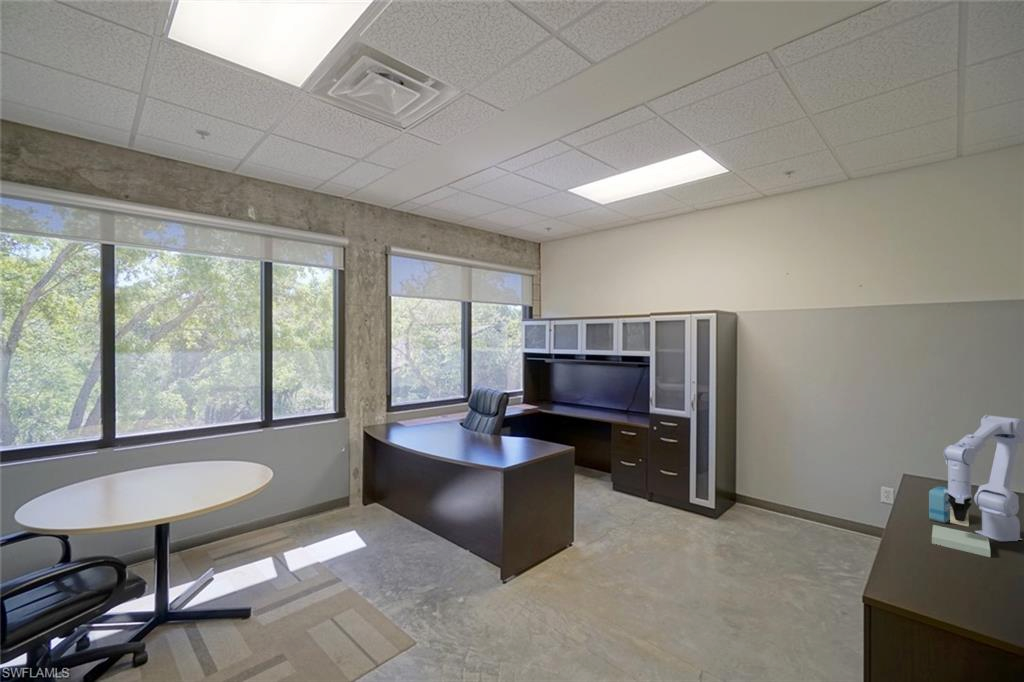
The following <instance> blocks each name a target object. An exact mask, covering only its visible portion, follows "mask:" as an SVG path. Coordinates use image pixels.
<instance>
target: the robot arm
mask: <svg viewBox="0 0 1024 682" xmlns="http://www.w3.org/2000/svg"><path fill="white" fill-rule="evenodd" d="M980 419H981V420H980V426H979V427H978V429H977V430H975V432H973V434H971V433H970V434H966V435H964V437H962V438H961V439H959V440H958V441H957V442H956V443H955V444H950V445H947V446H945V448H944V450H943V452H942V453H943V458H944V459H945V465H946V466H947V488H948V490H946V489H944V492H945V493H948V494H949V495H948V496H949V497H950V498H948V501H949V503H950V504H951V506H952V508H953V512H954V516H955V519H956V520H958V521H963V522H964V520H965V517H966V513H967V510H968V511H969V509H970V507H971V506H972V503H971V502H970V501H971V500H972V497H973V498H974V499H973V500H974V503H975V504H976V506H977V507H978V509H979V510H980V511H981V530H974V533H975V534H979V535H984V536H988V539H992V540H995V541H997V542H1019V541H1018V540H1023V541H1024V539H1023V538H1021V522H1020V519H1019V517H1017V516H1016V514H1018V513H1019V510H1020V505H1019V500H1020V499H1019V495H1017V493H1015V492H1014V491H1013V490H1012V489H1011V488H1010V485H1011V481H1012V475H1013V472H1014V466H1015V461H1016V458H1017V457H1016V456H1017V450H1018V446H1019V444H1023V443H1024V420H1023V419H1022V418H1016V417H1005V416H997V415H991V414H985V415H984V416H983V417H981V418H980ZM989 439H993V440H995V441H996V449H995V452H994V457H993V462H992V466H991V471H990V476H989V480H988V482H987V483H986V484H981V485H980V486H978V489H977V491H976V493H975V495H974V496H973V494H972V465H973V464H974V463H975V461H976V458H977V457H978V454H979V452H981V451H982V450H983V449H984V448H985V447H986V441H988V440H989Z"/></svg>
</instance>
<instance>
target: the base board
mask: <svg viewBox="0 0 1024 682" xmlns="http://www.w3.org/2000/svg"><path fill="white" fill-rule="evenodd" d="M989 540H990V538H989V537H988V536H984V535H981V534H978V533H975V532H974V533H973V532H970V531H969V532H968V531H964V530H960V529H954V528H951V527H945V526H940V525H935V524H933V525H932V533H931V544H933V545H936V544H937V546H940V545H941V547H945V548H950V549H953V550H958V551H961V552H966V553H970V554H975V555H979V556H983V557H988V558H991V546H990V541H989Z"/></svg>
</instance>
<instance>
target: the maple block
mask: <svg viewBox="0 0 1024 682" xmlns="http://www.w3.org/2000/svg"><path fill="white" fill-rule="evenodd" d="M969 513H970V512H969V509H968V510H967V513H966V517H965V520H964V522H963V521H958V520H956V519H955V516H954V512H953V508H952V507H950V521H949V523H950V524H953V525H955V524H956V525H960V526H965V527H969V524H970V523H969V516H970V515H969Z"/></svg>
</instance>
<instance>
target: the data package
mask: <svg viewBox="0 0 1024 682" xmlns="http://www.w3.org/2000/svg"><path fill="white" fill-rule="evenodd" d="M944 489H946V490H948V487H945V486H936V487H934V488H932V489H930V490H929V492H928V503H929V504H928V515H929V516H928V518H929V520H930V521H934V522H937V521H938V522H939V523H941V522H942V523H943V524H946V522H947V523H948V522H950V521H949V520H950V507H952V506H951V504H950V503H949V501H948V498H950V497H949V496H948V495H949V494H948V493H945V492H944Z"/></svg>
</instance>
